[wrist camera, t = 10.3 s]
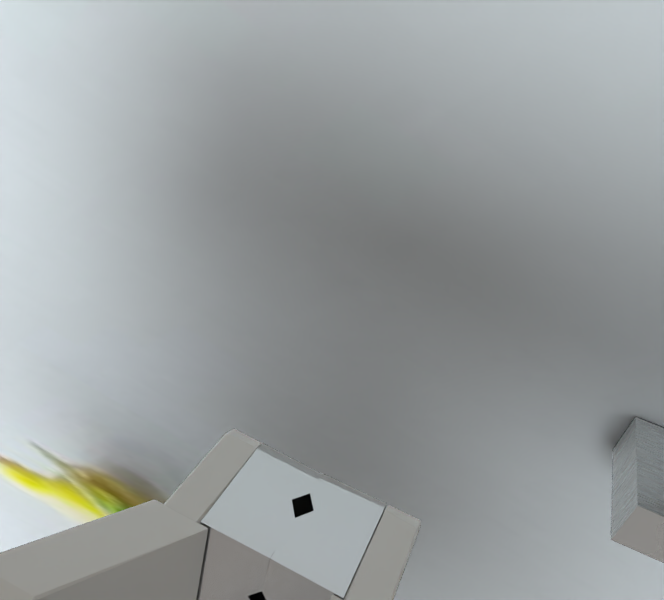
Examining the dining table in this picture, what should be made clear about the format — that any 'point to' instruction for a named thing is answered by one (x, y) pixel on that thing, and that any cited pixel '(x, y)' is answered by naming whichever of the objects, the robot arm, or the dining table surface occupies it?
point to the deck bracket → (639, 489)
